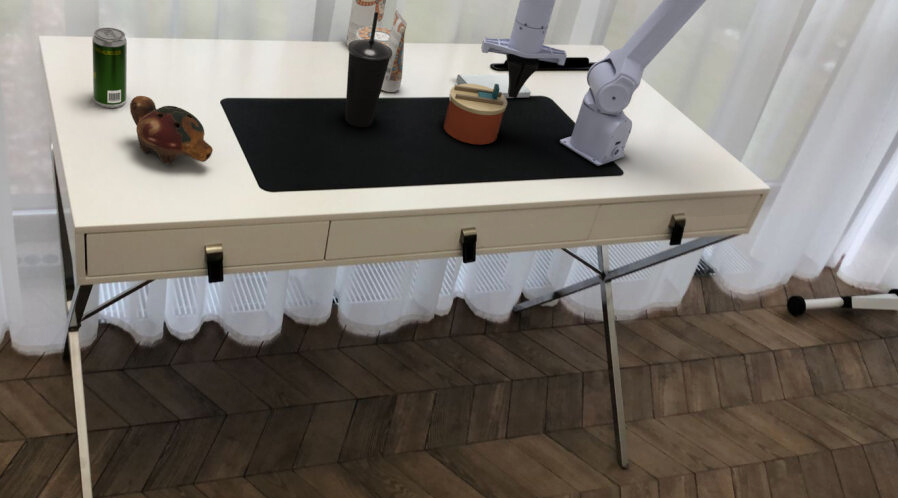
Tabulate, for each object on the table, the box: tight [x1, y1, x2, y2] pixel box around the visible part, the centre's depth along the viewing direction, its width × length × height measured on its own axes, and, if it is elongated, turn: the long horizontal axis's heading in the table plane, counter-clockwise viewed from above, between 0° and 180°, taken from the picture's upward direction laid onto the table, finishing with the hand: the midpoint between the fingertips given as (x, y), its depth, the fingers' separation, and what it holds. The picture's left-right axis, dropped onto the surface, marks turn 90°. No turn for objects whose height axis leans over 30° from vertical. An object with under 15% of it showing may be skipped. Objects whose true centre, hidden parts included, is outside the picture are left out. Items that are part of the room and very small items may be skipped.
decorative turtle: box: [129, 95, 214, 165], centre depth 152 cm, size 10×15×8 cm, turn 68°
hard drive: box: [456, 73, 532, 99], centre depth 192 cm, size 2×8×12 cm
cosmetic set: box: [346, 0, 408, 93], centre depth 187 cm, size 25×9×19 cm, turn 18°
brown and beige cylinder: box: [443, 83, 508, 146], centre depth 175 cm, size 10×10×8 cm
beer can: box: [91, 27, 128, 109], centre depth 161 cm, size 5×5×12 cm
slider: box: [478, 84, 500, 100], centre depth 173 cm, size 3×2×2 cm
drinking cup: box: [344, 12, 393, 128], centre depth 167 cm, size 8×8×20 cm
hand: (512, 94), depth 173 cm, fingers closed
